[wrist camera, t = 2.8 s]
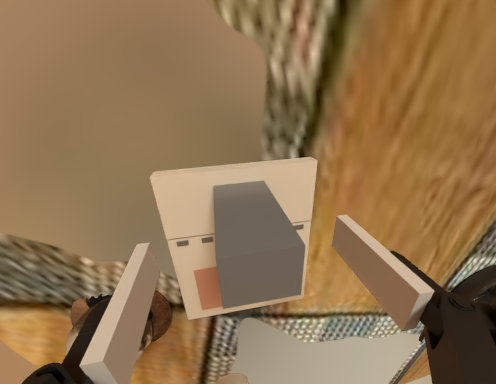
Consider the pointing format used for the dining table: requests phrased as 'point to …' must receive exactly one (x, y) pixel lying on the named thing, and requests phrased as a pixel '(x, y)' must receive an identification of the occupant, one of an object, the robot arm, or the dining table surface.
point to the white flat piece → (213, 273)
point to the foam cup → (233, 379)
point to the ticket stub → (244, 222)
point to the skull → (153, 329)
